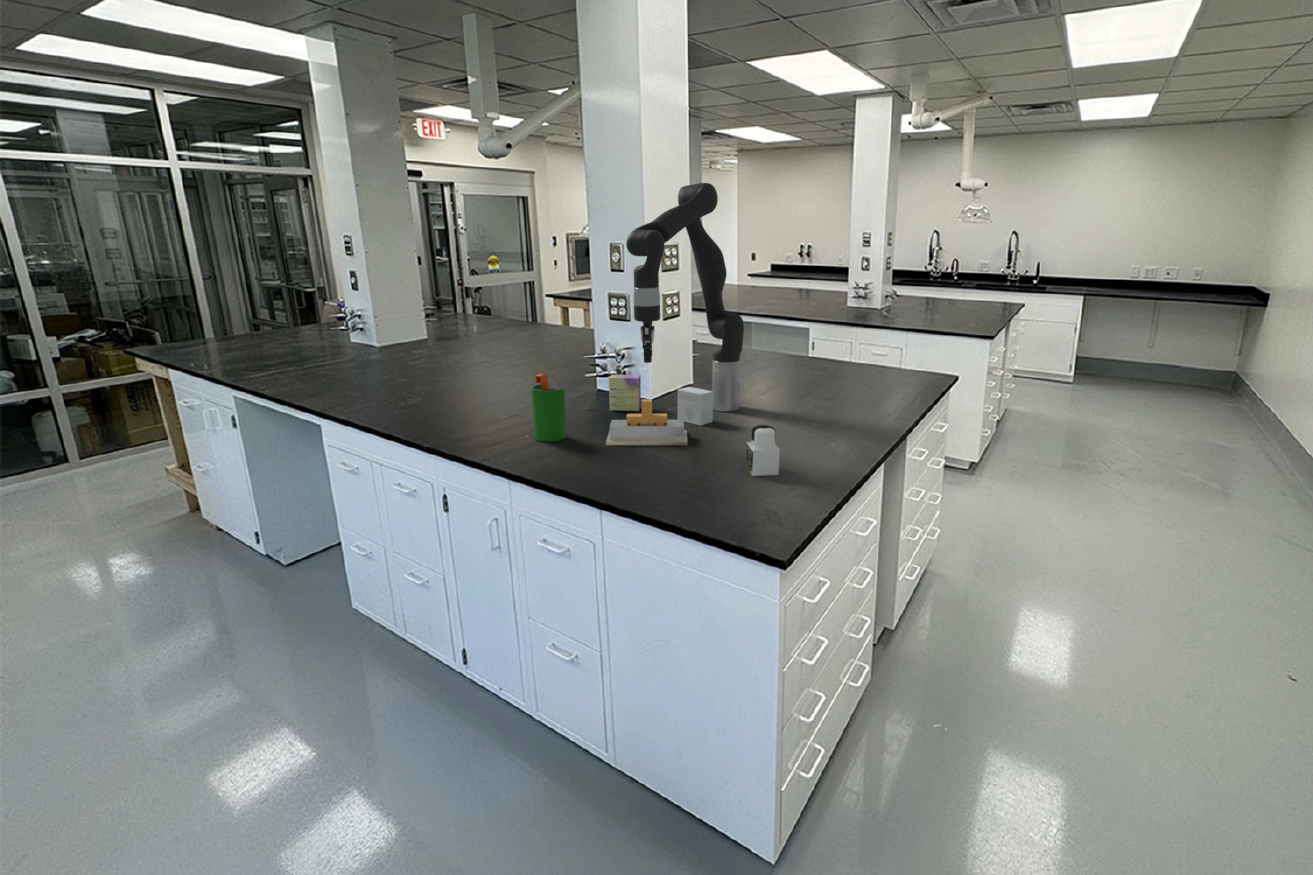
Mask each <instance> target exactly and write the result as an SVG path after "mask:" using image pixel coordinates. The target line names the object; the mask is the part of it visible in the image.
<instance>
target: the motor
mask: <svg viewBox="0 0 1313 875" xmlns="http://www.w3.org/2000/svg"><path fill="white" fill-rule="evenodd" d="M535 383H536V384H535V385H532V386H531V387H530V393H531V394H530V396H531V411H532V413H531V414H532V427H533V439H534V440H536V441H539V442H557V441H558V442H559V441H562V440H565V439H567V418H566V403H565V402H566V400H565V387H559V388H550V385H549V384H550V383H549V379H548V376H547V374H544V373H543V374H542V373H538V374H537V375H535Z"/></svg>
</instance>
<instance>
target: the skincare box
mask: <svg viewBox="0 0 1313 875" xmlns="http://www.w3.org/2000/svg"><path fill="white" fill-rule="evenodd" d="M713 417H714V409H713V391H712V390H708V389H703V388H698V387H697V388H696V387H693V386H687V387H683V388H679V389H677V419H676V420H684V423H688V424H691V425H692V424H693V425H697V426H701V427H702V426H704V425H707V424H711V423H713V422H714V420H713V419H714V418H713Z"/></svg>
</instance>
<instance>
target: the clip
mask: <svg viewBox="0 0 1313 875" xmlns="http://www.w3.org/2000/svg"><path fill="white" fill-rule="evenodd" d="M626 420H627V423H629V425H638V423H656V425H665V424H664V423H667V420H668V413H653V399H651V398H650V399H641V413H627V414H626Z"/></svg>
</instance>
